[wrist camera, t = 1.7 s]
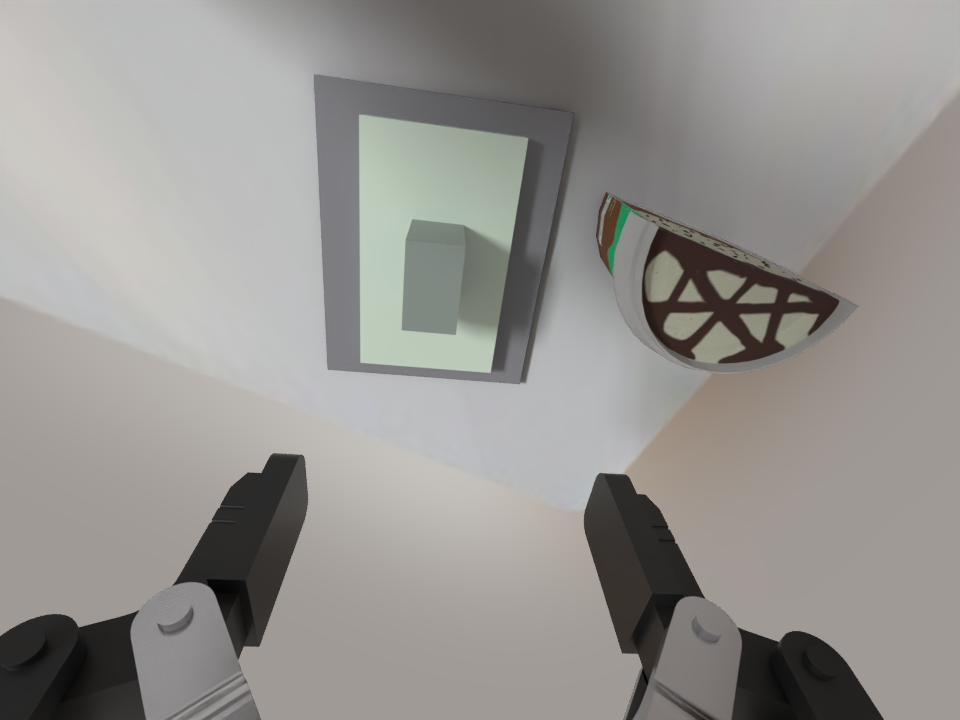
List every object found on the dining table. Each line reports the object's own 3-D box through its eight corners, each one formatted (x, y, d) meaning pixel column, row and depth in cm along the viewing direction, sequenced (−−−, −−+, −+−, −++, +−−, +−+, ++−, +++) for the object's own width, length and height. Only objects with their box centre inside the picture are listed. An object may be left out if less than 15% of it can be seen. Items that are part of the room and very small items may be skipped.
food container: (543, 274, 30) (580, 344, 22) (584, 183, 27) (646, 221, 19) (696, 327, 33) (783, 408, 24) (747, 249, 30) (866, 309, 22)
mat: (329, 365, 33) (327, 369, 32) (316, 75, 24) (313, 74, 23) (518, 379, 34) (519, 384, 34) (571, 112, 25) (574, 112, 25)
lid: (363, 354, 32) (347, 400, 27) (362, 114, 24) (340, 117, 19) (489, 364, 33) (496, 411, 28) (525, 136, 25) (543, 145, 20)
